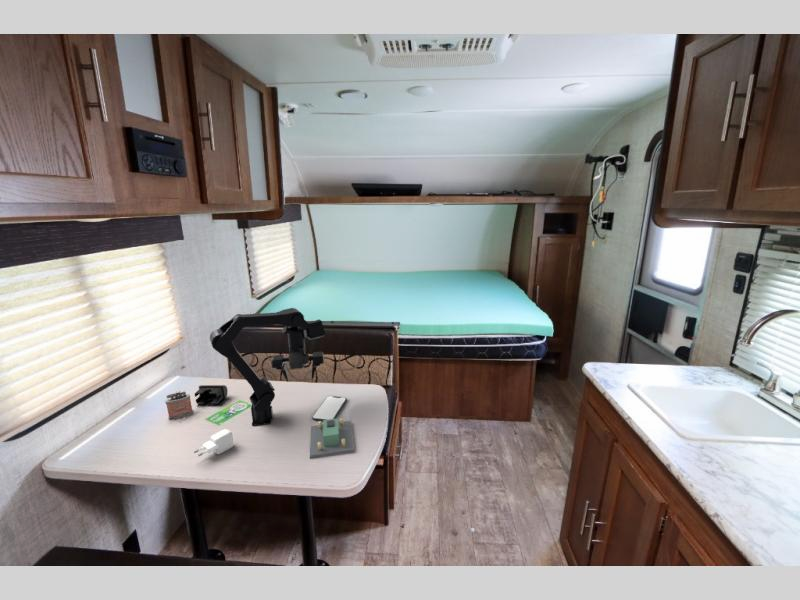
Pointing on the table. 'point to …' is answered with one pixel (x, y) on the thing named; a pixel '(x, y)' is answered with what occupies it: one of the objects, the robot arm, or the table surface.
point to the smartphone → (329, 408)
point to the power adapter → (218, 443)
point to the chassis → (344, 447)
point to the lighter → (178, 405)
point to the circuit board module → (330, 432)
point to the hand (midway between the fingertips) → (300, 379)
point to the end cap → (211, 395)
